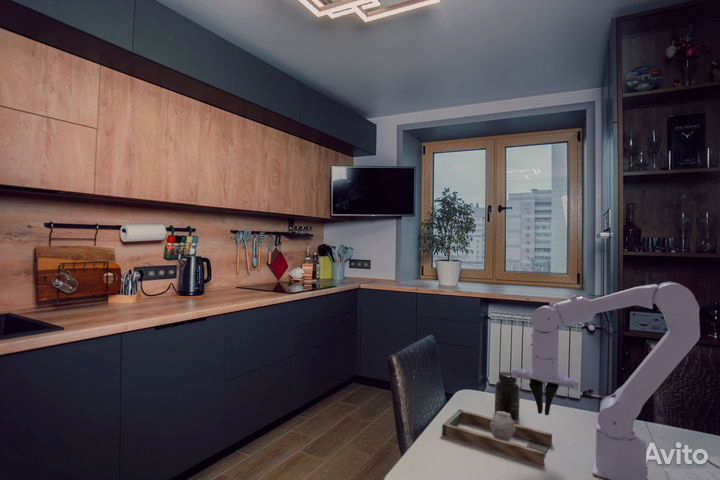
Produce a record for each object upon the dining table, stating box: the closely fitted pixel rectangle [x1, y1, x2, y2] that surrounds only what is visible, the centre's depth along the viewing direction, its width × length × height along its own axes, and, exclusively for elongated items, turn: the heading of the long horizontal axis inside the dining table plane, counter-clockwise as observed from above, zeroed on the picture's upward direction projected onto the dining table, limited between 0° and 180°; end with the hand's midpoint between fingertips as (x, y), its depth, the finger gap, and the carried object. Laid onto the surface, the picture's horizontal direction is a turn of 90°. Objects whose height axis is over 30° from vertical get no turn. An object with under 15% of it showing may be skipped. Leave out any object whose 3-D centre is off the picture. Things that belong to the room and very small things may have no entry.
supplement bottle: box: [494, 371, 521, 421], centre depth 117 cm, size 7×7×12 cm
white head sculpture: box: [490, 411, 515, 442], centre depth 101 cm, size 6×7×7 cm
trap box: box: [441, 409, 553, 466], centre depth 102 cm, size 24×12×2 cm, turn 56°
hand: (543, 413), depth 96 cm, fingers closed
